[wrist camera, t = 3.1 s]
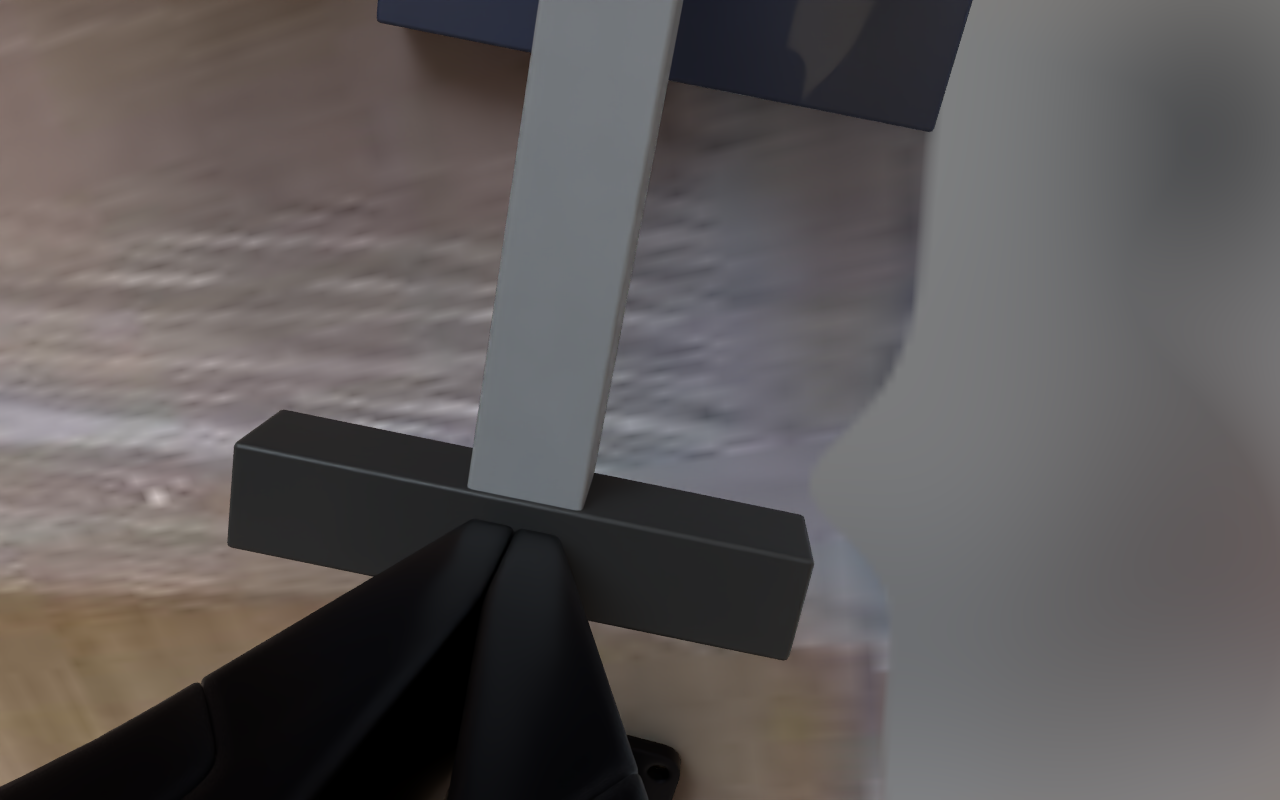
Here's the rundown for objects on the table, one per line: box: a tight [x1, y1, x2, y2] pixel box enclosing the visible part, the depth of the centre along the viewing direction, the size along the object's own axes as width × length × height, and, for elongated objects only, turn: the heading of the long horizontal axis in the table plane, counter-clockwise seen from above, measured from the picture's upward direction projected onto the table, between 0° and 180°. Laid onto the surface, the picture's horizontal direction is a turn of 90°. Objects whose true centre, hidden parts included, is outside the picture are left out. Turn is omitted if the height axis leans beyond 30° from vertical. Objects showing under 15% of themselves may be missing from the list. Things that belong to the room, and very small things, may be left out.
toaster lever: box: [227, 0, 814, 660], centre depth 8 cm, size 11×6×2 cm, turn 170°
